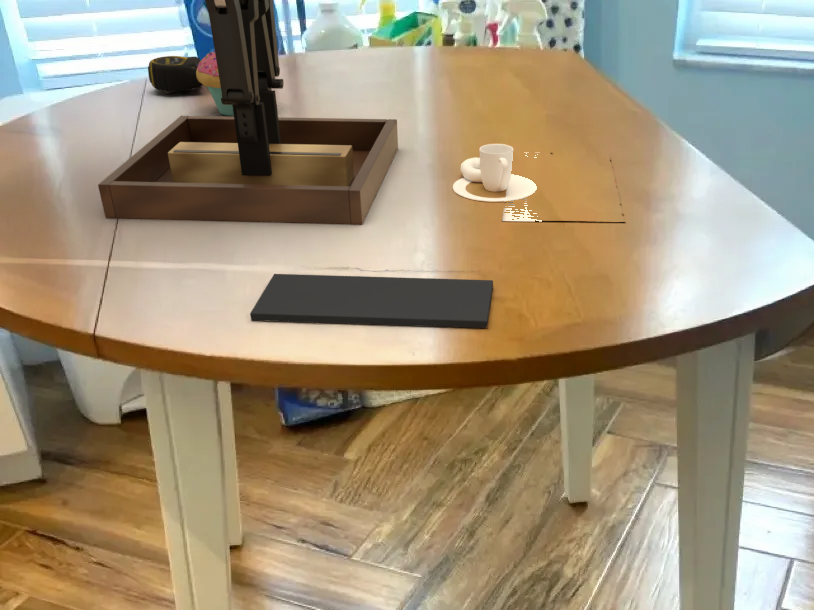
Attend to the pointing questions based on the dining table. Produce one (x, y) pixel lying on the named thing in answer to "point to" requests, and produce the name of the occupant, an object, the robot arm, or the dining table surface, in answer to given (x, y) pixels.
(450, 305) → the mat
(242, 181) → the grooved wooden beam
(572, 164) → the dining table surface
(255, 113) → the robot arm
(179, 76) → the tape measure
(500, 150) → the teacup and saucer
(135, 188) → the box
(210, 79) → the cupcake
